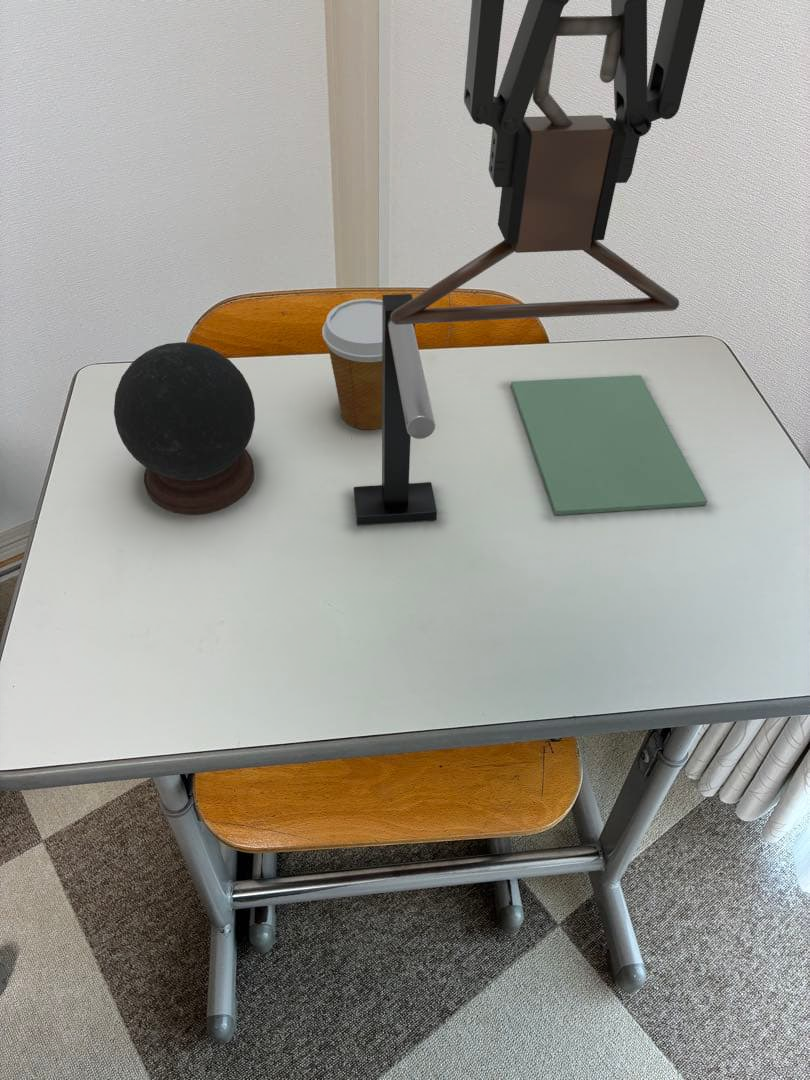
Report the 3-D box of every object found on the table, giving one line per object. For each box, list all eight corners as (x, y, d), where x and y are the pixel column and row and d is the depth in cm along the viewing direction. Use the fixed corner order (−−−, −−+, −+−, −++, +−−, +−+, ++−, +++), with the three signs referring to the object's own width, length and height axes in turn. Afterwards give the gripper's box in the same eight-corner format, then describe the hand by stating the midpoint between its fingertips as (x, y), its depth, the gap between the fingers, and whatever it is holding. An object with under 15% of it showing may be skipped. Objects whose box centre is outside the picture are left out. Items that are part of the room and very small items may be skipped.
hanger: (670, 300, 59) (757, 8, 45) (682, 318, 57) (776, 20, 44) (388, 314, 57) (391, 12, 43) (392, 333, 55) (396, 24, 42)
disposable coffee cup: (375, 378, 96) (375, 287, 87) (427, 417, 91) (432, 324, 82) (310, 408, 92) (303, 315, 83) (361, 450, 87) (358, 357, 78)
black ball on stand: (131, 448, 86) (94, 326, 75) (252, 427, 89) (234, 307, 78) (140, 533, 78) (101, 409, 67) (274, 507, 80) (257, 384, 70)
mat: (510, 385, 96) (511, 381, 95) (639, 379, 97) (640, 374, 97) (554, 515, 81) (555, 511, 80) (706, 505, 82) (707, 501, 82)
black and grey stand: (430, 490, 83) (443, 285, 66) (455, 617, 71) (479, 411, 54) (353, 494, 82) (347, 289, 65) (367, 624, 71) (363, 417, 54)
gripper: (785, -272, 39) (662, 202, 56) (418, -283, 37) (406, 211, 54) (865, -265, 34) (702, 254, 51) (445, -277, 32) (422, 266, 49)
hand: (550, 231), depth 52 cm, fingers closed on hanger, 5 cm apart
